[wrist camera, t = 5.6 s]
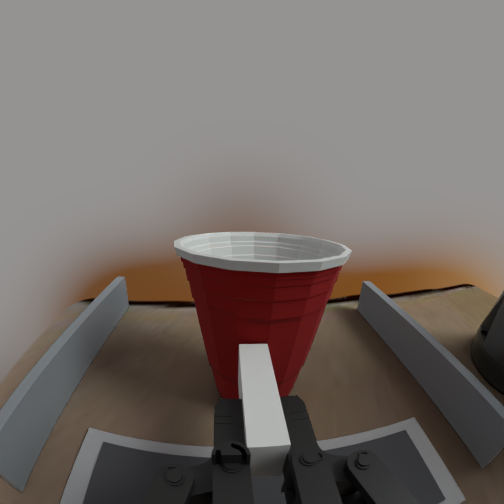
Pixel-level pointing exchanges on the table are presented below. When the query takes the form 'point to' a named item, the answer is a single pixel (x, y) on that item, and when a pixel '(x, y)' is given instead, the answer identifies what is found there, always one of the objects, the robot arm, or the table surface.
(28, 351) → the table surface
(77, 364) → the guide rails
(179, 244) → the plastic cup
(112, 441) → the pad
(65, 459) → the table surface
